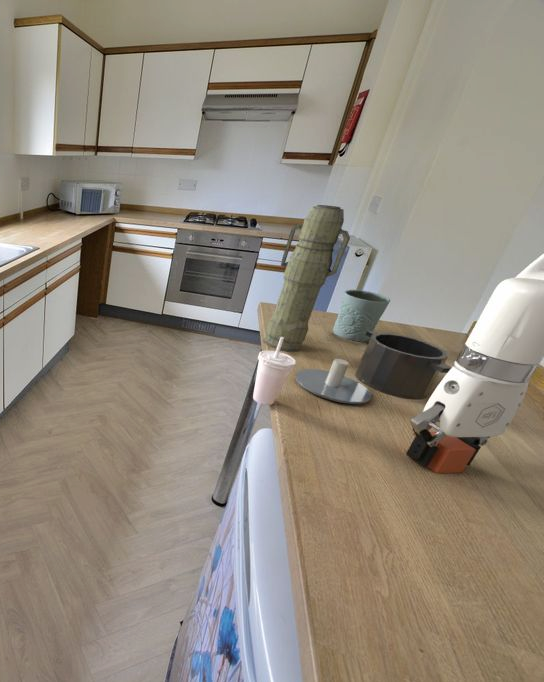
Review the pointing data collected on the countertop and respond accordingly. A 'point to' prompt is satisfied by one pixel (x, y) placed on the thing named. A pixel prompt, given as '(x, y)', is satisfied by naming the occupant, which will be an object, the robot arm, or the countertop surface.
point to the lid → (333, 384)
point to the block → (451, 455)
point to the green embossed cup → (359, 314)
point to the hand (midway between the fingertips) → (437, 459)
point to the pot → (401, 365)
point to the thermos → (306, 275)
